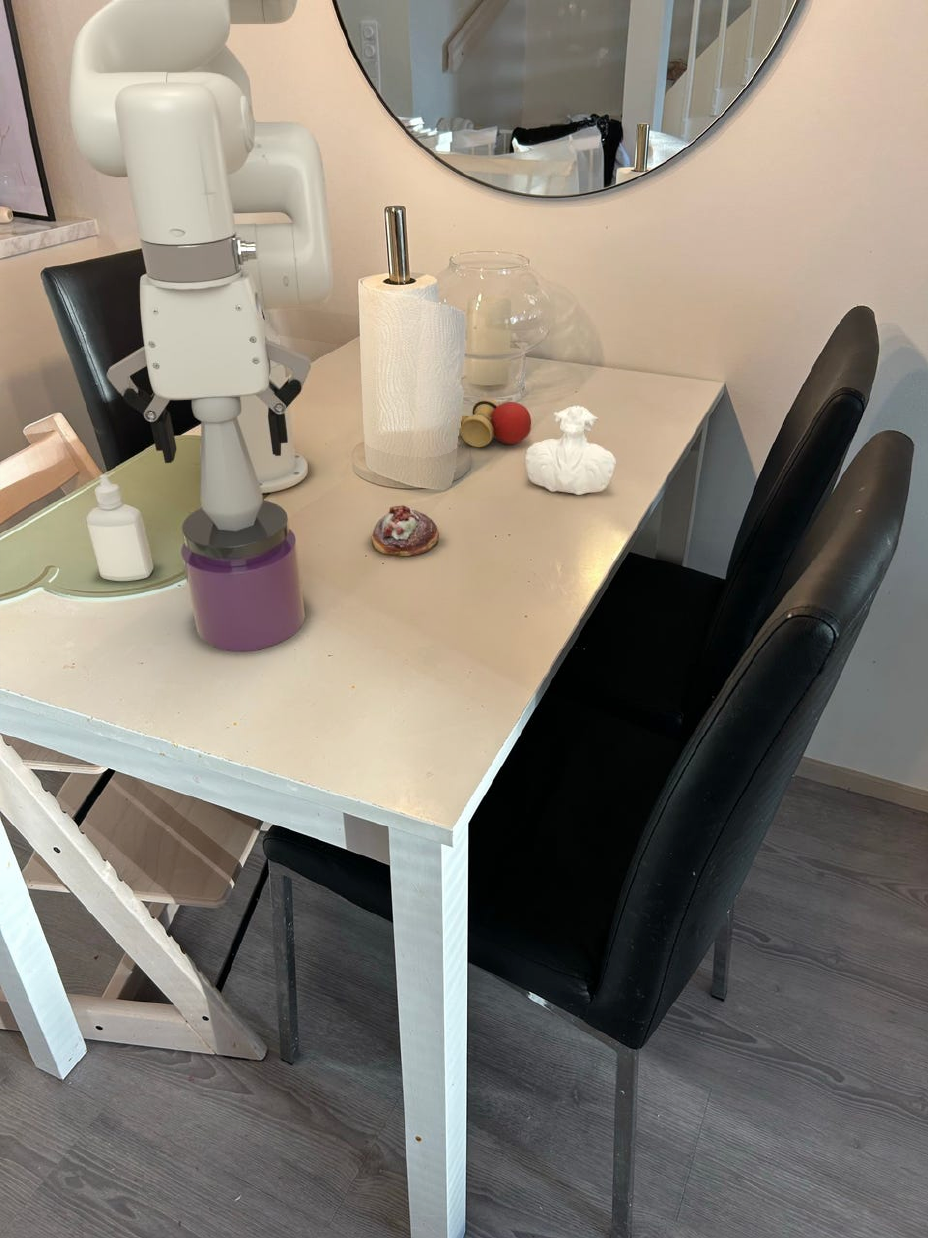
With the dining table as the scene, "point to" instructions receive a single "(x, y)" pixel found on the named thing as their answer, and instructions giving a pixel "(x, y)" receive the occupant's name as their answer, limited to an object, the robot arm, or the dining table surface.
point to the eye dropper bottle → (118, 536)
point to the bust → (570, 457)
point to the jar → (243, 580)
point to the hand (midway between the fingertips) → (224, 453)
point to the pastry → (404, 532)
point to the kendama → (495, 423)
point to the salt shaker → (226, 465)
